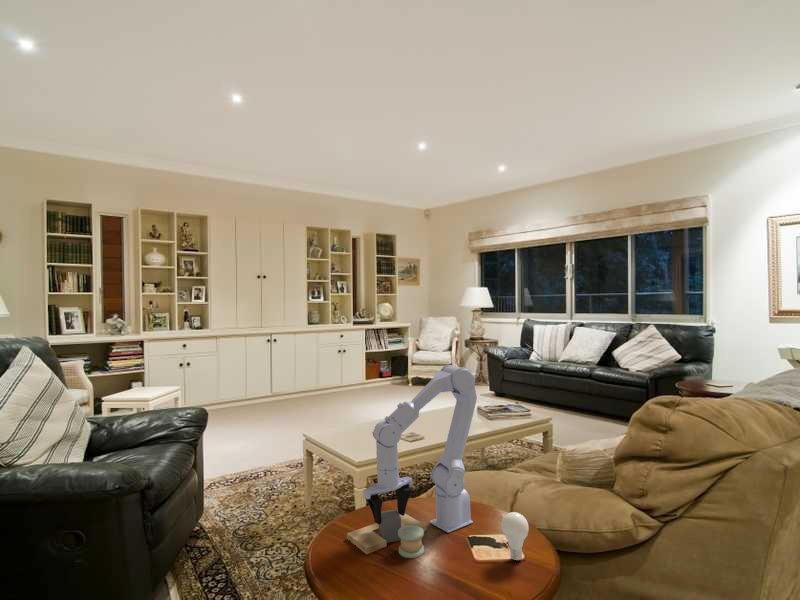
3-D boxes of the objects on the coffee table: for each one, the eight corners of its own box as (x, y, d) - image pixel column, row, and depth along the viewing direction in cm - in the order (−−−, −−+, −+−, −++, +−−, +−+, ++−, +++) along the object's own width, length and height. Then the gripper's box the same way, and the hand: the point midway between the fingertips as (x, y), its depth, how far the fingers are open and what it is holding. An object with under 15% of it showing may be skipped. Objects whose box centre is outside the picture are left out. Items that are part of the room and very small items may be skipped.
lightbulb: (531, 568, 107) (529, 519, 107) (502, 566, 108) (500, 518, 109) (529, 553, 113) (527, 508, 113) (502, 552, 114) (500, 507, 115)
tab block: (396, 531, 127) (395, 509, 127) (401, 540, 122) (400, 517, 123) (378, 534, 126) (378, 512, 126) (383, 543, 121) (382, 520, 121)
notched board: (404, 518, 135) (404, 513, 135) (426, 530, 127) (426, 525, 127) (347, 538, 124) (346, 533, 124) (366, 554, 116) (366, 548, 116)
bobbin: (413, 542, 121) (413, 522, 121) (429, 552, 116) (428, 531, 116) (393, 550, 117) (393, 530, 117) (408, 561, 112) (408, 540, 112)
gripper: (401, 457, 132) (403, 506, 132) (356, 469, 124) (358, 521, 123) (416, 464, 126) (418, 514, 126) (370, 477, 118) (372, 531, 118)
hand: (389, 518), depth 124 cm, fingers open, 7 cm apart
